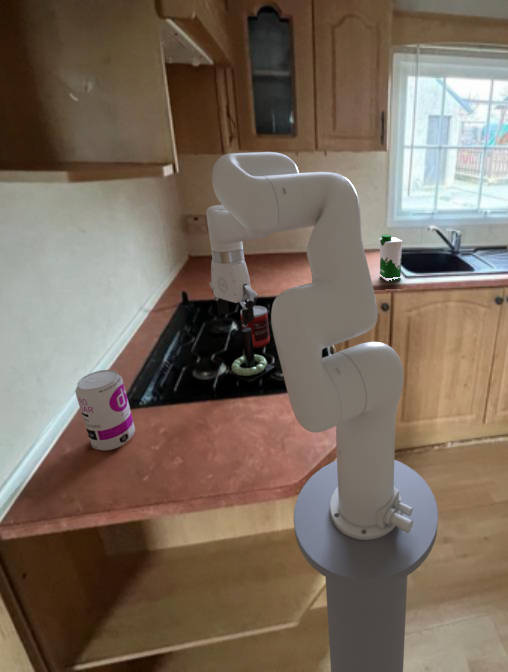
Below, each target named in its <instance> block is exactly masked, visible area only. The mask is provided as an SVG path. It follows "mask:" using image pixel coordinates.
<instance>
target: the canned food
mask: <svg viewBox="0 0 508 672" xmlns="http://www.w3.org/2000/svg"><path fill="white" fill-rule="evenodd" d="M242 310H243V308H242V309H240V323H241V330H242V329H244V328H251V331H252V339H253V348H254V349H258V348H263V347H265V346H267V345H268V344H269V343H270V340H271V337H270V336H271V335H270V327H269V316H268V309H267V308H266V306H262V305H255V306H254V307H253V312H254V320H253V321H251V322H249V323H247V324H244V323H243V317H242Z"/></svg>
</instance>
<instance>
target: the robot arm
mask: <svg viewBox="0 0 508 672" xmlns="http://www.w3.org/2000/svg"><path fill="white" fill-rule="evenodd" d="M211 183H212V189H213V192H214V195H215V197H216V199H217V201H219V203H220V204H216V205H211V206H209V207H208V208H207V209H206V211H205V212H206V213H205V214H206V223H207V231H208V237H209V244H210V250H211V257H212V260H211V264H210V279H211V281H210V282H209V283H208V285H209V287H210V289H211V293H212V295H213V296H214V301H216V306H217V314H218V316H224V315H225V314H228V313H230V304H229V302H231V303H234V304H237V303H239V304H240V306H241V307H242V309H243V310H242V309H241V310H242V317H243V323H244V324H247V323H249V322H251V321H253V320H254V312H253V307H254V306H256V304H257V299H258V297H259V295H258V293H257V292H256V291H254V289H252V286H251V279H250V275H249V270H248V266H247V263H246V261H245V254H244V245H243V242H247V241H253V240H260V239H264V238H268V237H270V236H271V235H273V234H275V233H276V234H277V233H282V232H288V231H294V230H302V229H306V228H313V229H312V231H311V233H310V237H309V239H308V242H307V247H306V256H307V261H308V265H309V268H310V274H311V282H309V283H304V284H301V285H296V286H294V287H289V288H287V289H285V290H283V291H281V292H280V293H279V294H278V295H277V296H276V297H275V298H274V300H273V302H272V306H271V312H270V323H271V330H272V336H273V339H274V343H275V347H276V351H277V356H278V360H279V363H280V367H281V372H282V376H283V380H284V384H285V387H286V392H287V397H288V400H289V403H290V406H291V409H292V412H293V414H294V416H295V419H296V421H297V423H298V424H299V425H300V426H301V427H302V428H303V429H304V430H305V431H307V432H310V433H322V432H326V431H327V430H330V429H332V428H334V427H335V445H336V447H335V449H336V461H337V475H338V487H337V488H336V489H335V491H334V492H333V494H332V496H331V500H330V515H331V518H332V521H333V523H334V524H335V526H336V527H337V528H338V529H339V530H340V531H341V532H342V533H344V534H345V535H347V536H349V537H351V538H355V539H359V540H372V539H376V538H380V537H382V536H384V535H386V534H388V533H389V532H391V531H392V530H393V529H394V528H395V527H396V526H397V527H398V528H399V529H401V530H403V531H405V532H406V533H409V532H410V530H411V528H412V525H413V521H412V520H410V519H408V518H406V517H405V516H402V513H404V514H406V515H408V516H410V515H411V513H412V510H413V508H412V507H410V506H408V505H406V504H403V503H402V500H401V496H400V494H399V489H397V488H395V487H394V460H395V454H396V453H395V449H396V426H397V424H396V423H397V413H398V407H399V404H400V399H401V395H402V392H403V391H402V390H403V386H404V368H403V363H402V360H401V358H400V356H399V354H398V353H397V351H396V350H394V348H393V347H392V346H390V345H388V344H386V343H384V342H380V341H368V342H362V343H359V344H356V345H353V346H351V347H348V348H345V349H342V350H340V351H337V352H335V353H333V354H330V355H327V356H323V350H324V349H327V348H330V347H332V346H335V345H338V344H341V343H343V342H347V341H349V340H352V339H355V338H357V337H360V336H362V335H365V334H366V333H368V332H370V331H372V330H373V329H374V328H375V326H376V325H377V323H378V318H379V309H378V303H377V299H376V294H375V289H374V284H373V281H372V277H371V272H370V269H369V268H370V267H369V265H368V264H369V263H368V259H367V256H366V251H365V248H364V244H363V243H364V242H363V239H362V238H363V237H362V216H361V206H360V200H359V196H358V194H357V191H356V189H355V186H354V185H353V183H352V182H351V181H350V179H348V177H346V176H344V175H343V174H340V173H337V172H331V171H312V172H311V171H309V172H299V169H298V166H297V164H296V162H294V160H293V159H291V158H290V157H289V156H287V155H286V154H283V153H280V152H276V151H275V152H274V151H263V152H262V151H255V152H231V153H225V154H223V155H221V156H220V157H218V159H217V160H216V161H215V162H214V165H213V168H212V172H211ZM245 301H246V302H245Z"/></svg>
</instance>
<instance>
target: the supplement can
mask: <svg viewBox="0 0 508 672" xmlns="http://www.w3.org/2000/svg"><path fill="white" fill-rule="evenodd" d="M75 396H76V399H77V403H78V407H79V410H80V413H81V415H82V419H83V422H84V426H85V429H86V433H87V436H88V439H89V442H90V445H91V447H92V448H93V449H95V450H99V451H111V450H115V449H117V448H120V447H122V446H124V445H125V444H127V443H128V442H129V441H131V439H132V437H133V436H134V435H135V432H136V426H135V423H134V419H133V416H132V411H131V406H130V403H129V400H128V395H127V390H126V388H125V383H124V380H123V377H122V375H120V374H118V372H117V371H116V370H114V369H101V370H97V371H93V372H91V373H89V374H86V375H84V376H83V377H81V378H80V379H78V381H77V383H76V388H75Z"/></svg>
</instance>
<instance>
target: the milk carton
mask: <svg viewBox="0 0 508 672" xmlns="http://www.w3.org/2000/svg"><path fill="white" fill-rule="evenodd" d="M378 241H379V275H380V274H381V275H382V276H383V277H385V278H393V277H400V276H402V249H403V248H402V247H403V240H402V239H399V238H397V237H394V236H393V237H392V235H391V234H382V235H381V238H379V239H378ZM401 279H402V277H401V278H398V279H395V280H394V279H392V281H391V280H389V282H396V281H397V282H398V281H401Z"/></svg>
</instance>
